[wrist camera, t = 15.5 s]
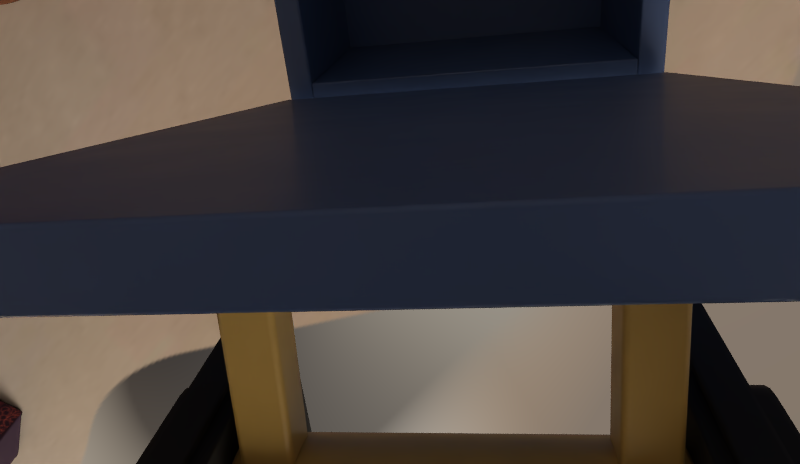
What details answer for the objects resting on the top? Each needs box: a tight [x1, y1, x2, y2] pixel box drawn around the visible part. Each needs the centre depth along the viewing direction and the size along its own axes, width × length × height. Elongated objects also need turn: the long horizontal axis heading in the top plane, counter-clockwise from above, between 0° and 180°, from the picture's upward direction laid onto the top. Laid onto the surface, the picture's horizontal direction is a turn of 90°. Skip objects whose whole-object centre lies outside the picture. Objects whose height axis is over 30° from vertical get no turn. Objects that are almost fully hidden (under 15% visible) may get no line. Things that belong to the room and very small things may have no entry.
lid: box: [0, 72, 800, 464], centre depth 13 cm, size 16×12×6 cm
